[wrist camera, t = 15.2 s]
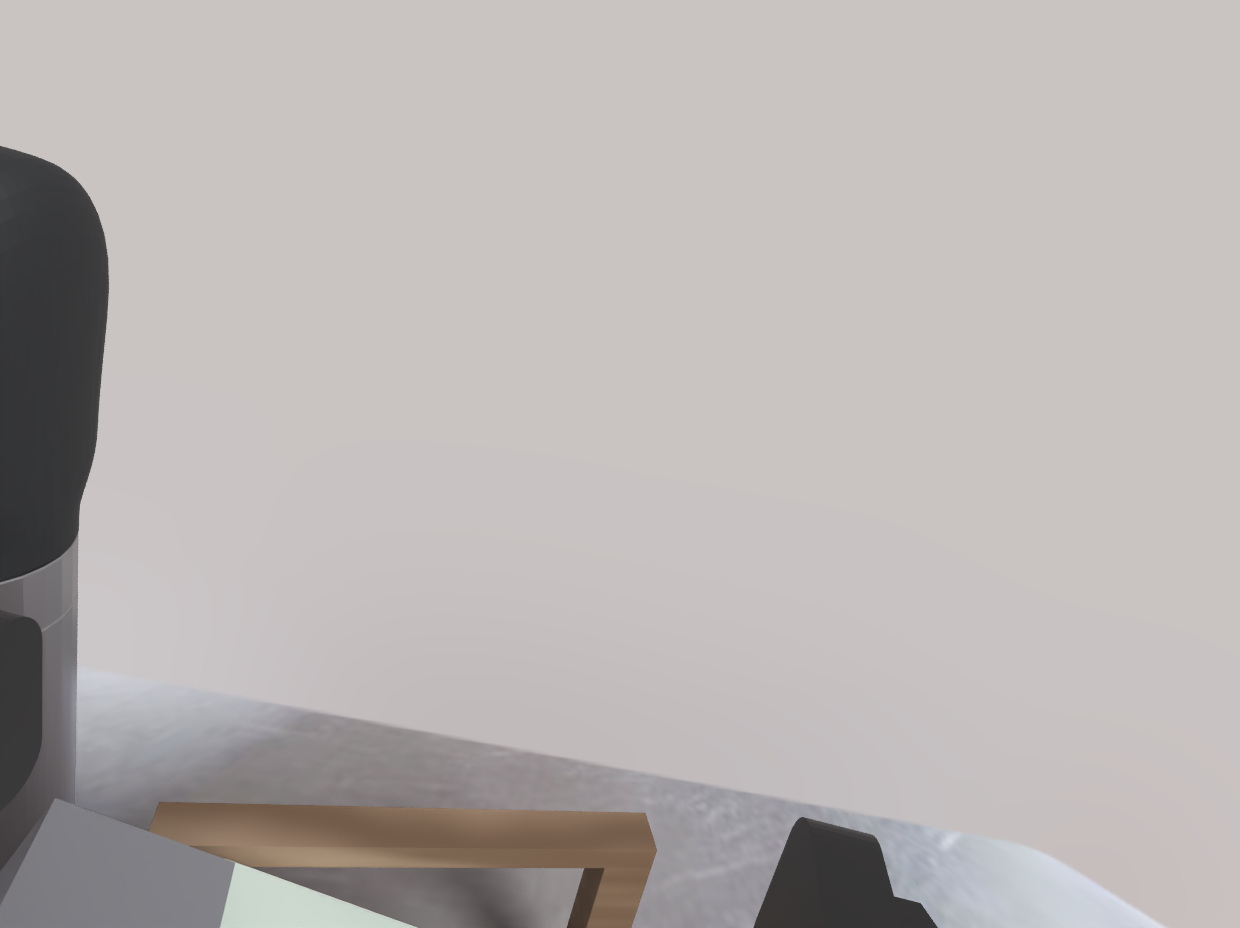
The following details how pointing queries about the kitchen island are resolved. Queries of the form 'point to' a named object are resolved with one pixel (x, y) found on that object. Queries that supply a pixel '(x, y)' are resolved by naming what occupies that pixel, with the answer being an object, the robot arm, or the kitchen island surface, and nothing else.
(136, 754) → the kitchen island surface
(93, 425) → the robot arm
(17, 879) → the trapdoor plate
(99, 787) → the kitchen island surface
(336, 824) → the wooden rack
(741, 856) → the kitchen island surface
